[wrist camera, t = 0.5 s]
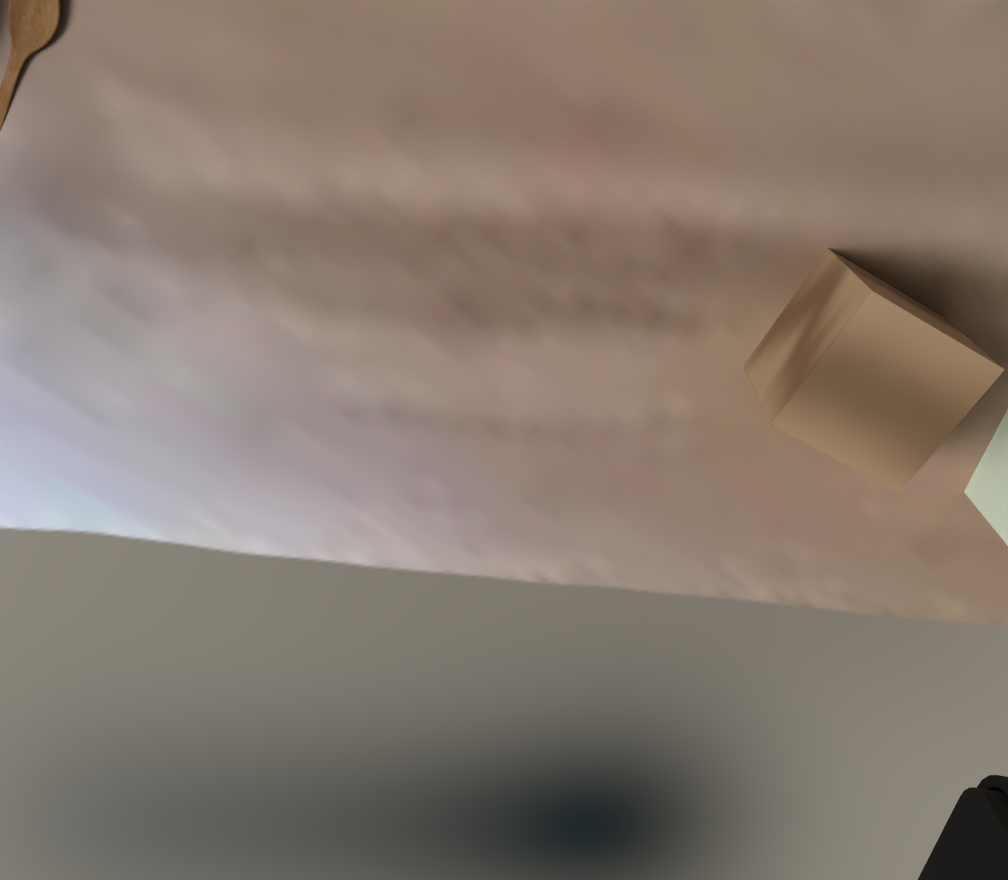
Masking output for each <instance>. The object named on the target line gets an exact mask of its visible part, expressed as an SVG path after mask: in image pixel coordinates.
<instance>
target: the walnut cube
mask: <svg viewBox="0 0 1008 880" xmlns="http://www.w3.org/2000/svg"><path fill="white" fill-rule="evenodd" d="M743 368H744V370H745V372H746V374H747V376H748V378H749V380H750V382H751V384H752V386H753V388H754V390H755V392H756V394H757V396H758V398H759V400H760V402H761V404H762V406H763V408H764V410H765V412H766V414H767V416H768V418H769V420H770V422H771V424H772V425H774V426H776V427H778V428H779V429H781V430H783V431H785V432H787V433H789V434H790V435H792V436H794V437H796V438H798V439H799V440H801V441H803V442H805V443H807V444H809V445H810V446H812V447H814V448H816V449H818V450H819V451H821V452H823V453H825V454H827V455H829V456H830V457H832V458H834V459H836V460H838V461H840V462H841V463H843V464H845V465H847V466H849V467H850V468H852V469H854V470H856V471H858V472H860V473H861V474H863V475H865V476H867V477H869V478H871V479H872V480H874V481H876V482H878V483H880V484H881V485H883V486H885V487H887V488H889V489H891V490H892V491H894V492H896V493H898V494H899V493H900V492H901V491H902V489H903V488H904V487H905V486H906V485H907V484H908V482H909V481H910V480H911V479H912V478H913V477H914V475H915V474H916V473H917V472H918V471H919V470H920V468H921V467H922V466H923V465H924V464H925V462H926V461H927V460H928V459H929V458H930V457H931V455H932V454H933V453H934V452H935V451H936V450H937V448H938V447H939V446H940V445H941V444H942V443H943V441H944V440H945V439H946V438H947V437H948V436H949V434H950V433H951V432H952V431H953V430H954V429H955V427H956V426H957V425H958V424H959V423H960V421H961V420H962V419H963V418H964V417H965V416H966V414H967V413H968V412H969V411H970V410H971V409H972V407H973V406H974V405H975V404H976V403H977V402H978V400H979V399H980V398H981V397H982V396H983V395H984V393H985V392H986V391H987V390H988V389H989V387H990V386H991V385H992V384H993V383H994V382H995V380H996V379H997V378H998V377H999V376H1000V375H1001V373H1002V372H1003V371H1004V370H1005V369H1004V368H1003V367H1001V366H1000V365H999V364H998V363H997V362H996V361H994V360H993V359H992V358H991V357H990V356H989V355H987V354H986V353H985V352H984V351H983V350H982V349H980V348H979V347H978V346H977V345H976V344H975V343H973V342H972V341H971V340H970V339H969V338H968V337H966V336H965V335H964V334H963V333H962V332H961V331H959V330H958V329H957V328H956V327H955V326H954V325H952V324H951V323H950V322H949V321H948V320H947V319H945V318H944V317H943V316H941V315H939V314H938V313H936V312H934V311H932V310H931V309H929V308H927V307H926V306H924V305H922V304H921V303H919V302H917V301H916V300H914V299H912V298H911V297H909V296H907V295H906V294H904V293H902V292H901V291H899V290H897V289H896V288H894V287H892V286H891V285H889V284H887V283H886V282H884V281H882V280H880V279H879V278H877V277H875V276H874V275H872V274H870V273H869V272H867V271H865V270H864V269H862V268H860V267H859V266H857V265H855V264H854V263H852V262H850V261H849V260H847V259H845V258H844V257H842V256H840V255H839V254H837V253H835V252H834V251H832V250H830V249H827V251H826V252H825V253H824V255H823V256H822V258H821V259H820V260H819V262H818V263H817V265H816V266H815V267H814V269H813V270H812V272H811V273H810V274H809V276H808V277H807V279H806V280H805V281H804V283H803V284H802V286H801V287H800V288H799V290H798V291H797V292H796V294H795V295H794V297H793V298H792V299H791V301H790V302H789V304H788V305H787V306H786V308H785V309H784V311H783V312H782V313H781V315H780V316H779V318H778V319H777V320H776V322H775V323H774V325H773V326H772V327H771V329H770V330H769V332H768V333H767V334H766V336H765V337H764V338H763V340H762V341H761V343H760V344H759V345H758V347H757V348H756V350H755V351H754V352H753V354H752V355H751V357H750V358H749V359H748V361H747V362H746V364H745V365H744V366H743Z"/></svg>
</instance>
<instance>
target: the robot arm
mask: <svg viewBox="0 0 1008 880" xmlns="http://www.w3.org/2000/svg"><path fill="white" fill-rule="evenodd" d="M918 880H1008V777H1005V776H999V775H989V776H988V777H986V778H985V779H983V780H982V781H981V782H980V784H979V785H978V787H977V788H968V789H966V790H965V791H964V792H963V793H962V795H961V796H960V798H959V800H958V802H957V804H956V806H955V808H954V810H953V811H952V813H951V815H950V817H949V819H948V821H947V823H946V825H945V827H944V829H943V831H942V833H941V835H940V837H939V839H938V841H937V843H936V845H935V847H934V849H933V851H932V853H931V855H930V857H929V859H928V861H927V863H926V865H925V867H924V869H923V871H922V872H921V874H920V877H919V878H918Z"/></svg>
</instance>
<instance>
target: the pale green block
mask: <svg viewBox="0 0 1008 880" xmlns="http://www.w3.org/2000/svg"><path fill="white" fill-rule="evenodd" d="M964 492H965V494H966V495H967V496H968V497H969V499H970V500H971V501H972V502H973V504H974V505H975V506H976V507H977V508H978V510H979V511H980V512H981V513H982V515H983V516H984V517H985V518H986V520H987V521H988V522H989V523H990V524H991V526H992V527H993V528H994V529H995V531H996V532H997V533H998V534H999V536H1000V537H1001V538H1002V539H1003V540H1004V542H1005V543H1006V544H1007V545H1008V409H1007V411H1006V413H1005V415H1004V417H1003V419H1002V421H1001V423H1000V425H999V427H998V428H997V430H996V432H995V434H994V436H993V438H992V440H991V442H990V444H989V446H988V447H987V449H986V451H985V453H984V455H983V457H982V459H981V461H980V463H979V464H978V466H977V468H976V470H975V472H974V474H973V476H972V478H971V480H970V482H969V483H968V485H967V487H966V489H965V491H964Z"/></svg>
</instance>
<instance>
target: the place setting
mask: <svg viewBox="0 0 1008 880" xmlns="http://www.w3.org/2000/svg"><path fill="white" fill-rule="evenodd" d="M60 9H61V6H60V0H9V5H8V25H9V31H10V35H11V42H12V49H11V55H10V59H9V63H8V66H7V69H6V72H5V75H4V78H3V81H2V83H1V86H0V131H1V128H2V126H3V123H4V121H5V118H6V115H7V112H8V109H9V105H10V102H11V98H12V95H13V92H14V89H15V86H16V83H17V80H18V77H19V74H20V72H21V69H22V67H23V65H24V63H25V61H26V60H27V58H28V57H29V56H30V55H31V54H33V53H34V52H36V51H38V50H39V49H41V48H42V47H44V46H45V45H46V44H47V43H48V42H49V41H50V40H51V38H52V37H53V35H54V34H55V32H56V30H57V27H58V25H59V20H60Z"/></svg>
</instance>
